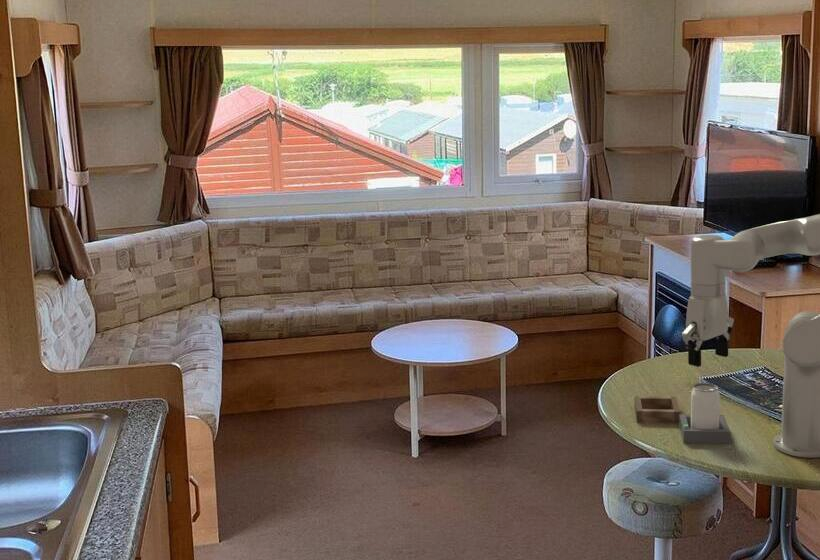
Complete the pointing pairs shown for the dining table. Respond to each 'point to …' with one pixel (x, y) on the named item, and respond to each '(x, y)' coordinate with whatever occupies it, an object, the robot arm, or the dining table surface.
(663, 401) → the brown square frame
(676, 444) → the dining table surface
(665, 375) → the dining table surface
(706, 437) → the gray square frame
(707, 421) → the can
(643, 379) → the dining table surface
